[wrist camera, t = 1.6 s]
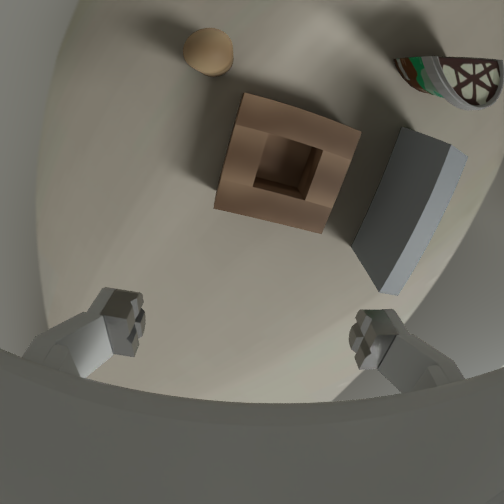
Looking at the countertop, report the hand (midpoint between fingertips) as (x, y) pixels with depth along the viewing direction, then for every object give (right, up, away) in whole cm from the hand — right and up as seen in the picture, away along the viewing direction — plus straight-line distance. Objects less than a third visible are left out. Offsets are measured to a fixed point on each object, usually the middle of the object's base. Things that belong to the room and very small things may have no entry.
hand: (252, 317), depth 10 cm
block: (+3, +13, +21) cm, 25 cm away
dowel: (-4, +23, +15) cm, 27 cm away
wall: (+18, +10, +24) cm, 31 cm away
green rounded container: (+22, +24, +16) cm, 37 cm away
